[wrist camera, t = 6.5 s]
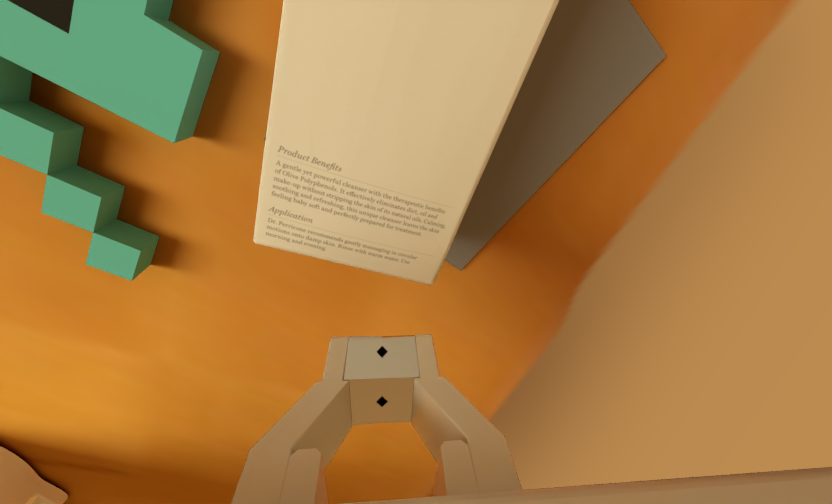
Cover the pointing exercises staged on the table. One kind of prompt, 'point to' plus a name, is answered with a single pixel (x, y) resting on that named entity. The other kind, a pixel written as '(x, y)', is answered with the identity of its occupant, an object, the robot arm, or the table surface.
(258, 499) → the robot arm
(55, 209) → the alien figure
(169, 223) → the table surface
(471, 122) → the skincare box
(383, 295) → the table surface
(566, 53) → the mat
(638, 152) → the table surface
